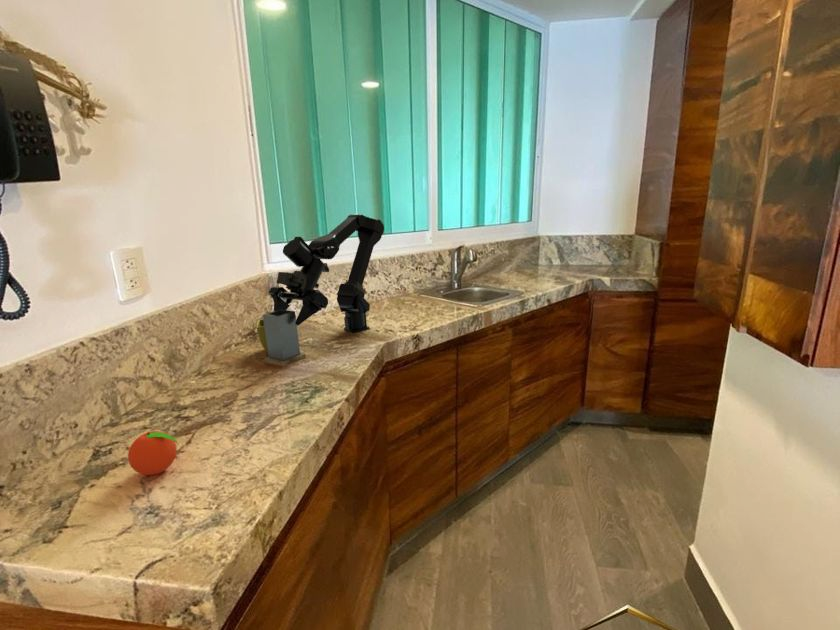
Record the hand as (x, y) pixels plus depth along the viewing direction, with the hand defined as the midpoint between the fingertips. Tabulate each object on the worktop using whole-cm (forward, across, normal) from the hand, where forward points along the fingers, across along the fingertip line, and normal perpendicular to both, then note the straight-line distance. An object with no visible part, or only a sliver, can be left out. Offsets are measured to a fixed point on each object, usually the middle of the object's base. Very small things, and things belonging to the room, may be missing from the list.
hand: (284, 323), depth 123 cm
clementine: (+42, +22, -28) cm, 55 cm away
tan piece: (+8, 0, +6) cm, 10 cm away
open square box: (+8, 0, +5) cm, 9 cm away
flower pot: (+5, -9, +10) cm, 14 cm away
